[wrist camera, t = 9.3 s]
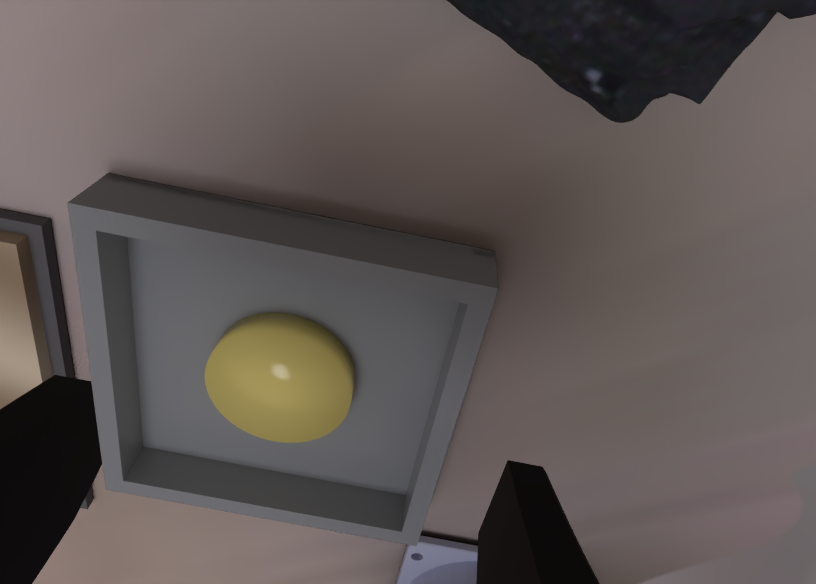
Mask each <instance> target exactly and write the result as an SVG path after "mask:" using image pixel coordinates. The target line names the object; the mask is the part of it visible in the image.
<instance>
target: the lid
mask: <svg viewBox="0 0 816 584" xmlns="http://www.w3.org/2000/svg"><path fill="white" fill-rule="evenodd" d="M52 376H53V374H52V369H51V363H50V358H49V352H48V346H47V341H46V335H45V329H44V324H43V318H42V313H41V307H40V301H39V296H38V290H37V284H36V279H35V273H34V268H33V262H32V256H31V251H30V245H29V239H28V236H27V235H21V234H16V233H11V232H6V231H1V230H0V409H1V408H3V407H4V406H6V405H8V404H9V403H11V402H12V401H14V400H15V399H17V398H19V397H20V396H22V395H23V394H25V393H27V392H28V391H30V390H31V389H33V388H34V387H36V386H38V385H39V384H41V383H42V382H44V381H46V380H47V379H49V378H51V377H52Z"/></svg>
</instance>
